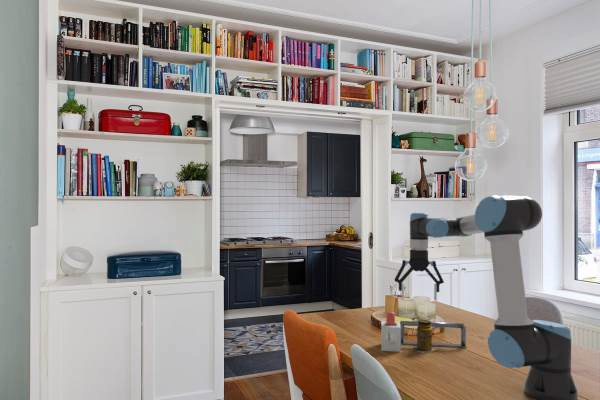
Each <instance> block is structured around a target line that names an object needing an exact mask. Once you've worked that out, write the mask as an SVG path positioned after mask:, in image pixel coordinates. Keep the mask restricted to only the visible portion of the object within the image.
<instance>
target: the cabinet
mask: <svg viewBox="0 0 600 400" xmlns="http://www.w3.org/2000/svg"><path fill="white" fill-rule="evenodd" d="M380 327H381V331H380V332H381V333H380V334H381V335H380V336H381V340H380V341H381V343H380V344H381V345H380V351H381V352H399V353H401V351H402V350H401V349H402V347H401V326H400V321H395V326H386V320H381V324H380Z"/></svg>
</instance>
